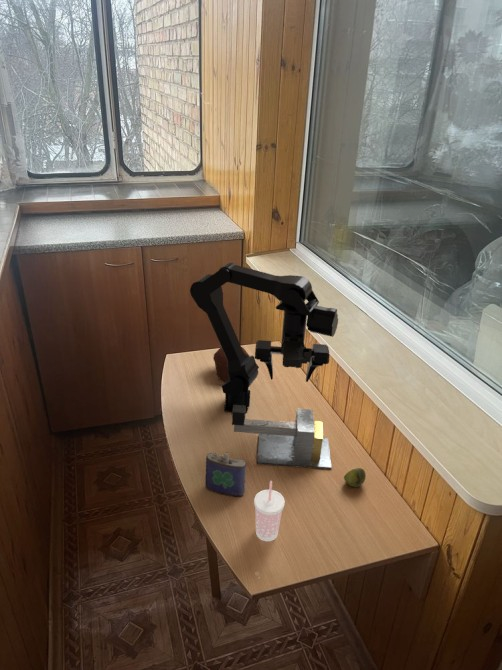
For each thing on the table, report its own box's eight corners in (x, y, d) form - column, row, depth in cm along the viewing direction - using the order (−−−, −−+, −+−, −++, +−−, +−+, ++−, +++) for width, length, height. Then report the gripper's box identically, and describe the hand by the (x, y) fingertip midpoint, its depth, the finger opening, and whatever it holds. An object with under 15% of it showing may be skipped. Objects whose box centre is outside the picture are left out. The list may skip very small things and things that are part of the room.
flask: (245, 490, 117) (247, 454, 112) (242, 499, 114) (243, 462, 109) (207, 481, 119) (207, 445, 114) (203, 490, 116) (202, 453, 111)
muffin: (248, 386, 155) (249, 358, 150) (211, 385, 155) (212, 356, 150) (249, 366, 165) (250, 339, 161) (214, 364, 165) (215, 337, 160)
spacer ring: (311, 459, 126) (314, 437, 123) (312, 442, 132) (314, 420, 129) (319, 460, 126) (322, 438, 123) (319, 443, 132) (322, 421, 129)
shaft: (231, 432, 126) (232, 412, 123) (232, 425, 128) (233, 404, 125) (307, 438, 125) (309, 417, 122) (306, 430, 128) (308, 410, 125)
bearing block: (257, 463, 125) (259, 431, 120) (259, 435, 134) (261, 403, 130) (331, 469, 124) (336, 436, 119) (327, 440, 134) (332, 408, 129)
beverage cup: (267, 516, 110) (271, 466, 104) (287, 534, 106) (293, 483, 100) (246, 530, 106) (248, 479, 100) (266, 549, 102) (270, 498, 96)
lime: (340, 485, 119) (343, 469, 117) (350, 474, 123) (353, 458, 120) (357, 494, 117) (361, 478, 115) (367, 483, 120) (370, 466, 118)
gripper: (255, 339, 121) (252, 394, 128) (334, 344, 120) (327, 399, 127) (257, 319, 131) (254, 371, 138) (330, 324, 130) (323, 376, 137)
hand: (289, 379), depth 135 cm, fingers open, 9 cm apart
